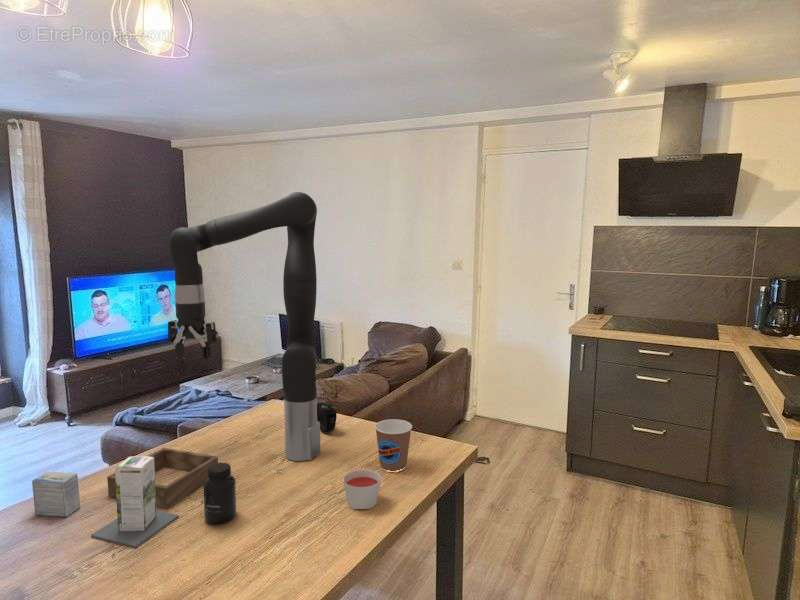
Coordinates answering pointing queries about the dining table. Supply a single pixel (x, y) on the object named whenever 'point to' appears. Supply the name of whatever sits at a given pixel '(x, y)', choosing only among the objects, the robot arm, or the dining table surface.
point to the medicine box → (56, 494)
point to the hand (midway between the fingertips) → (193, 358)
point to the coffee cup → (393, 443)
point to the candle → (362, 488)
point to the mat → (134, 537)
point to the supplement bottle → (219, 494)
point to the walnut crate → (182, 485)
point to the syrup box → (135, 493)
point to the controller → (326, 417)
